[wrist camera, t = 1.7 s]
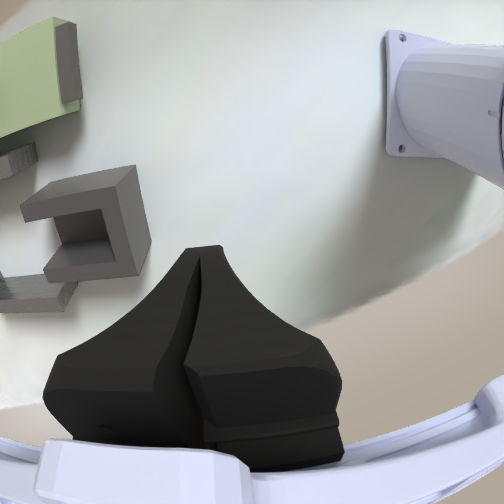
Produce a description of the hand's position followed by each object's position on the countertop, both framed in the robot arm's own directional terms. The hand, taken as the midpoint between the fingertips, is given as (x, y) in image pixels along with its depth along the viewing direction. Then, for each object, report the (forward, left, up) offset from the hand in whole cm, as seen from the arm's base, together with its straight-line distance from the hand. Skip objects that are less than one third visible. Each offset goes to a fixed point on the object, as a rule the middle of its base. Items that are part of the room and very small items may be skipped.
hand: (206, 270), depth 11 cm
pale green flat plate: (+12, -9, -8) cm, 17 cm away
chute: (+7, 0, -8) cm, 11 cm away
